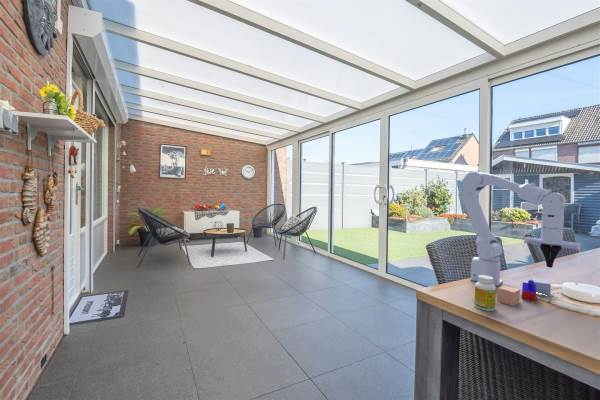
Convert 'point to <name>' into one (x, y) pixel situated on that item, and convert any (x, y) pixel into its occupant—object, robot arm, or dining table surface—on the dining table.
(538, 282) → the slate blue block
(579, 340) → the dining table surface
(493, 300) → the supplement bottle
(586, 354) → the dining table surface
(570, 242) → the robot arm
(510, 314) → the dining table surface
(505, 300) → the terracotta block
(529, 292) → the toy building block
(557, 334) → the dining table surface
